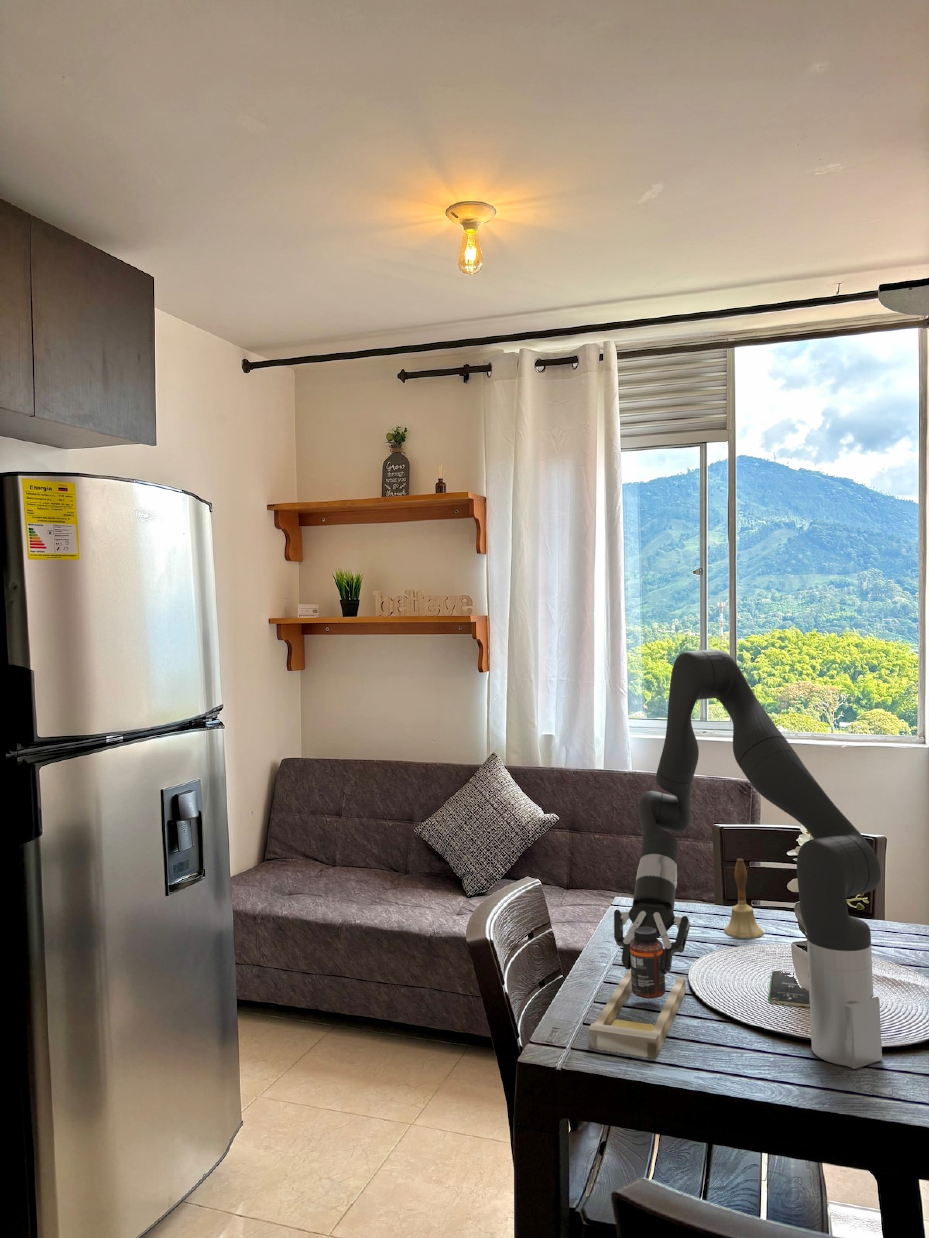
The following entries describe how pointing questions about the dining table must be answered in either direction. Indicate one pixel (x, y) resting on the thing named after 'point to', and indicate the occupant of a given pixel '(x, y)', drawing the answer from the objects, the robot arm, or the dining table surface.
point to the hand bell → (742, 910)
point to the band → (633, 1025)
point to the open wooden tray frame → (633, 1039)
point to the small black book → (787, 990)
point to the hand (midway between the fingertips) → (645, 969)
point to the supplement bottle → (646, 964)
